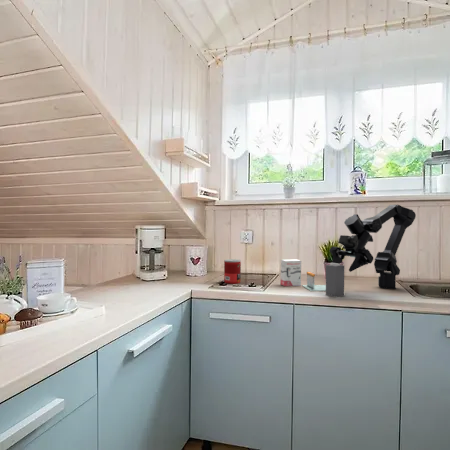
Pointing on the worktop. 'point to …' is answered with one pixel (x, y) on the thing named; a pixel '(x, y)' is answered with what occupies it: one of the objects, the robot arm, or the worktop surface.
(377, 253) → the robot arm
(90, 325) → the worktop surface
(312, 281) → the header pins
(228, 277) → the canned food
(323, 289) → the mat
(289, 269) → the ink box
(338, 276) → the gray rectangular block
